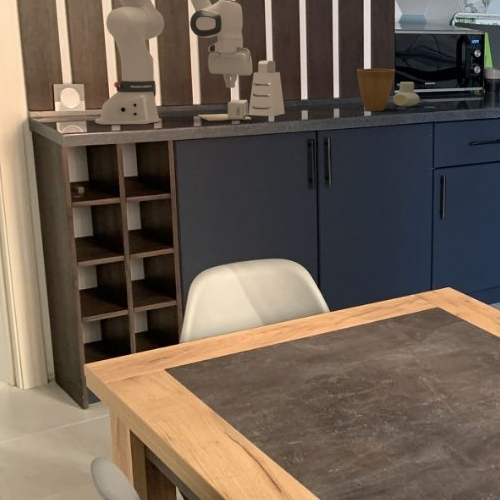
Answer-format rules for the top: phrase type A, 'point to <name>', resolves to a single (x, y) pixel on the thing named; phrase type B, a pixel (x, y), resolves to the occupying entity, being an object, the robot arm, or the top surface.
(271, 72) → the grater
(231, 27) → the robot arm
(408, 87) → the pipe tee fitting
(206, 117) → the mat
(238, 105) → the syrup box
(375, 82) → the plant pot
